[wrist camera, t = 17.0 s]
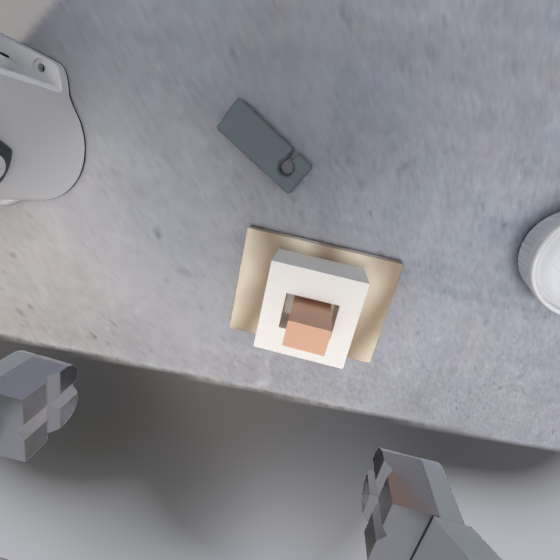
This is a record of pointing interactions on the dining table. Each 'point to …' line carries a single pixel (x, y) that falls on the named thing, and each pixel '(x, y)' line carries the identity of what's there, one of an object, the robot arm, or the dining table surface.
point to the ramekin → (542, 262)
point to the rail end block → (308, 325)
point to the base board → (267, 243)
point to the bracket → (262, 145)
